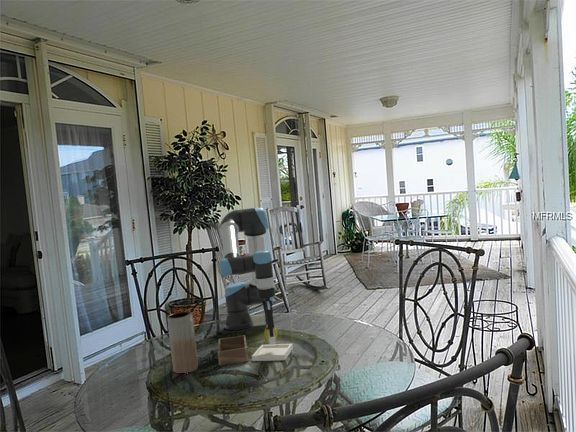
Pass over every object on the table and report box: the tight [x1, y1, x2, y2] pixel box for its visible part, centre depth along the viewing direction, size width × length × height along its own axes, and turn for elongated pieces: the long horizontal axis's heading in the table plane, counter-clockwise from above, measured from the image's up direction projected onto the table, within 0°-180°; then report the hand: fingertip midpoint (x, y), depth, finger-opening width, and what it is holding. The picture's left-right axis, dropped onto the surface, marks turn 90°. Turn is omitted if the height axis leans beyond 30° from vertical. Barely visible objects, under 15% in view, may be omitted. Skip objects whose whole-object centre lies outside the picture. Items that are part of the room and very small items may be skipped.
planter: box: [166, 311, 199, 374], centre depth 179 cm, size 10×10×23 cm
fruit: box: [263, 326, 278, 342], centre depth 186 cm, size 6×6×8 cm
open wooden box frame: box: [217, 334, 249, 366], centre depth 190 cm, size 20×12×6 cm, turn 8°
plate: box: [251, 343, 294, 362], centre depth 186 cm, size 14×14×2 cm
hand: (271, 341), depth 186 cm, fingers closed on fruit, 6 cm apart
